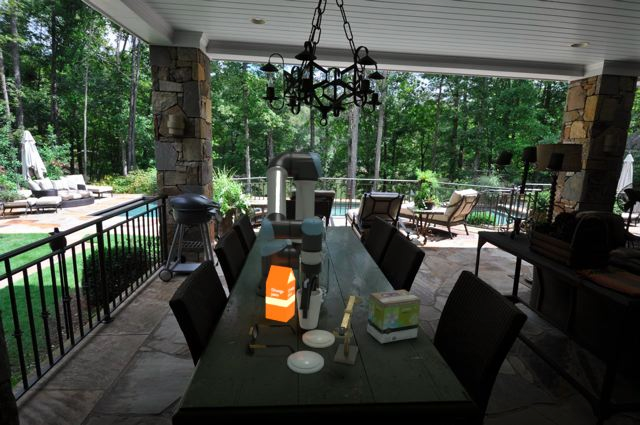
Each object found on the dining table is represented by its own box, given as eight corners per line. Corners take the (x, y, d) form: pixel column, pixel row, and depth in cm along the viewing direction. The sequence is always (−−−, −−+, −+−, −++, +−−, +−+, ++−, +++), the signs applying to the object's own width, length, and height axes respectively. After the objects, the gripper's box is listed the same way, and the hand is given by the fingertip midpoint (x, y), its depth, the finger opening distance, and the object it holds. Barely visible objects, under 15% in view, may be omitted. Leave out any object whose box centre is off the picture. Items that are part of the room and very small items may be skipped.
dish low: (282, 369, 105) (282, 365, 105) (294, 350, 116) (294, 347, 116) (318, 376, 103) (318, 372, 103) (327, 356, 113) (327, 353, 113)
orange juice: (286, 322, 136) (287, 271, 133) (265, 318, 139) (266, 267, 136) (294, 314, 143) (296, 265, 140) (274, 310, 146) (275, 262, 143)
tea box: (382, 345, 122) (384, 303, 119) (366, 331, 131) (368, 292, 129) (418, 337, 128) (421, 297, 125) (400, 325, 137) (403, 287, 135)
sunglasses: (295, 355, 114) (295, 341, 113) (246, 356, 113) (246, 341, 112) (295, 334, 128) (296, 321, 127) (252, 334, 127) (252, 320, 126)
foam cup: (318, 332, 128) (319, 298, 127) (292, 329, 130) (293, 295, 128) (323, 321, 138) (324, 288, 136) (299, 318, 139) (300, 286, 138)
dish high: (298, 344, 120) (298, 341, 120) (307, 329, 130) (307, 326, 130) (330, 350, 117) (330, 346, 117) (337, 334, 128) (337, 331, 127)
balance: (343, 338, 125) (345, 291, 123) (360, 340, 124) (363, 293, 121) (329, 373, 105) (331, 317, 102) (349, 376, 103) (352, 320, 101)
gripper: (312, 271, 119) (310, 335, 122) (328, 254, 140) (326, 309, 143) (291, 269, 121) (289, 332, 124) (310, 253, 142) (308, 307, 145)
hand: (309, 320), depth 134 cm, fingers closed on foam cup, 9 cm apart
